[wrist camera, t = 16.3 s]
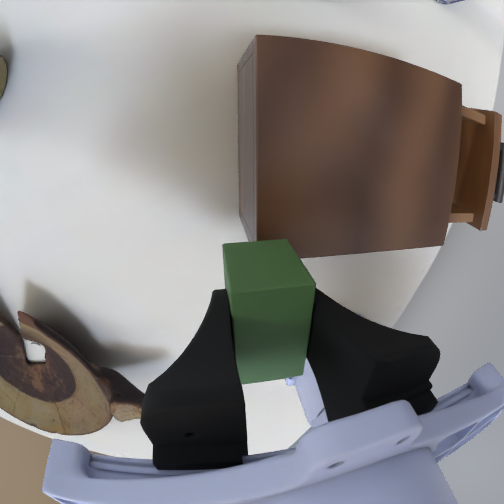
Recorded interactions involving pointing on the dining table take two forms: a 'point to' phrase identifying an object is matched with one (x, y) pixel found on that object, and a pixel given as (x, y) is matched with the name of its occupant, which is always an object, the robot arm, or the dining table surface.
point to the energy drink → (448, 1)
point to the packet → (268, 308)
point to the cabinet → (344, 148)
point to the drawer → (478, 168)
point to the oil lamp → (60, 384)
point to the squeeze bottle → (2, 75)
